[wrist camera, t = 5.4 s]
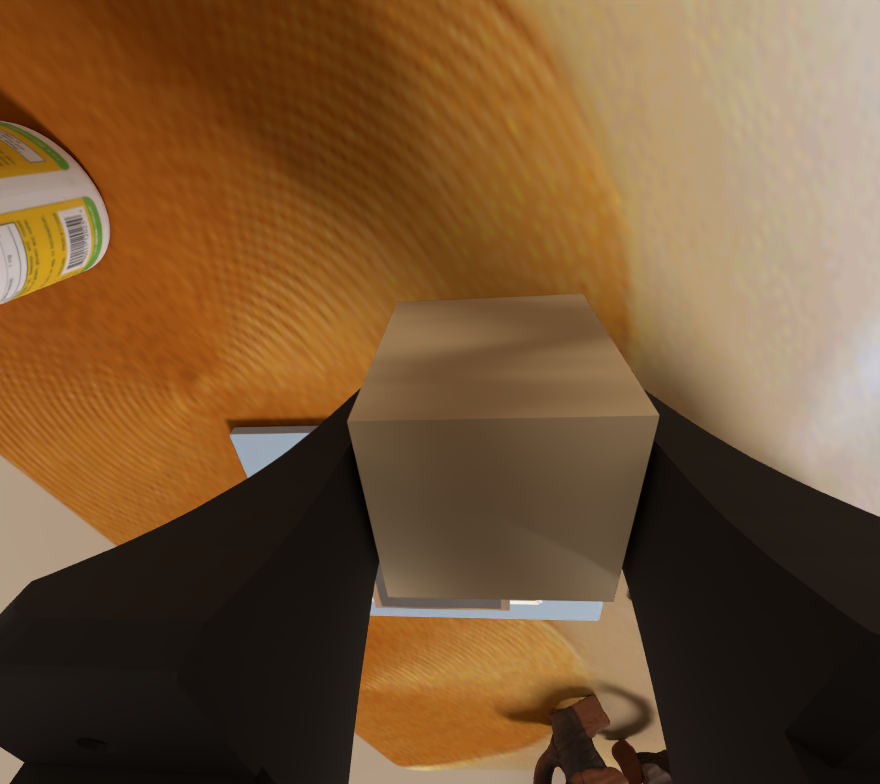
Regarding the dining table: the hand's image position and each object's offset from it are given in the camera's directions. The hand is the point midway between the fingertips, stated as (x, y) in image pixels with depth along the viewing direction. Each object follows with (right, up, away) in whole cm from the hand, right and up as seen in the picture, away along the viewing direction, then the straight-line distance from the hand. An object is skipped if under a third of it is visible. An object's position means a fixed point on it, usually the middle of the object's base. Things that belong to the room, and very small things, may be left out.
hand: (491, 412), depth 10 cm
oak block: (0, +1, +1) cm, 2 cm away
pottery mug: (+12, -28, +28) cm, 42 cm away
